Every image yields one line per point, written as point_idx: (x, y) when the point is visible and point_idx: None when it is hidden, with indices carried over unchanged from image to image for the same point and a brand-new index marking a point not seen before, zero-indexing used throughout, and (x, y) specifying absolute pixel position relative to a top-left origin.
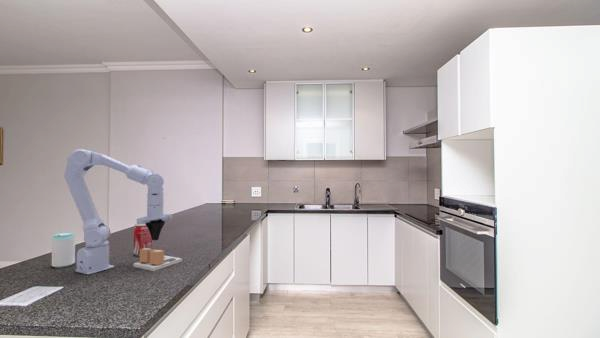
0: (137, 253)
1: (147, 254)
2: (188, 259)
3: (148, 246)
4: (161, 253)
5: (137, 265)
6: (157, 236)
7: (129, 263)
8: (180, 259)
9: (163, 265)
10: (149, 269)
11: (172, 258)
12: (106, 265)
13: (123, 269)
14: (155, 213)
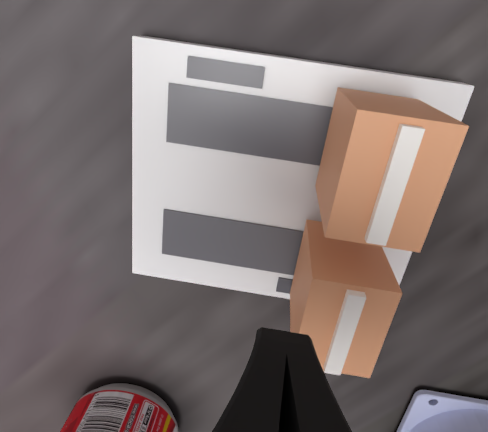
0: (175, 428)
1: (385, 268)
2: (63, 20)
3: (107, 430)
4: (392, 110)
5: (399, 274)
6: (290, 365)
7: None
8: (151, 39)
9: (359, 69)
10: None
11: (176, 123)
12: (470, 422)
13: (445, 320)
14: None
